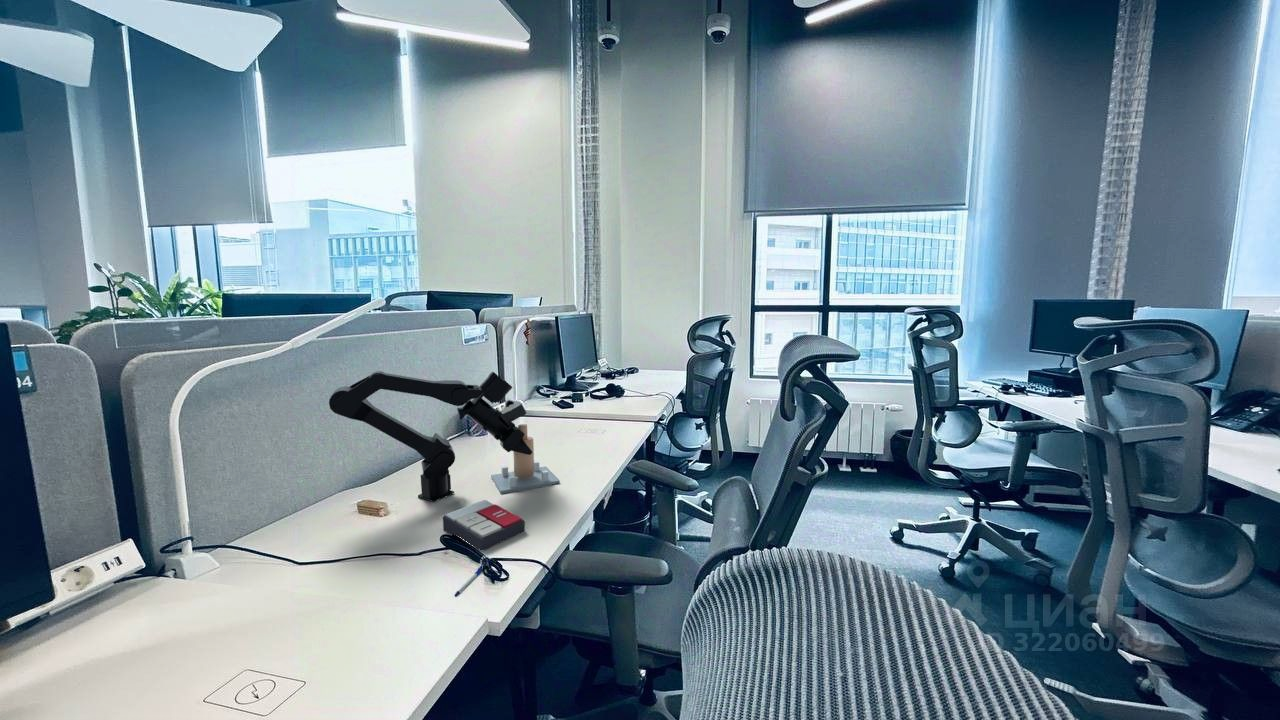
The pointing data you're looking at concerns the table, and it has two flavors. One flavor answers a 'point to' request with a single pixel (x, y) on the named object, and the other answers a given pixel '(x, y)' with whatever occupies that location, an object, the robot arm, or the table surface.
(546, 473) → the plate
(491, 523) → the calculator
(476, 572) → the ballpoint pen
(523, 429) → the tan bottle
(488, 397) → the robot arm
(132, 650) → the table surface
